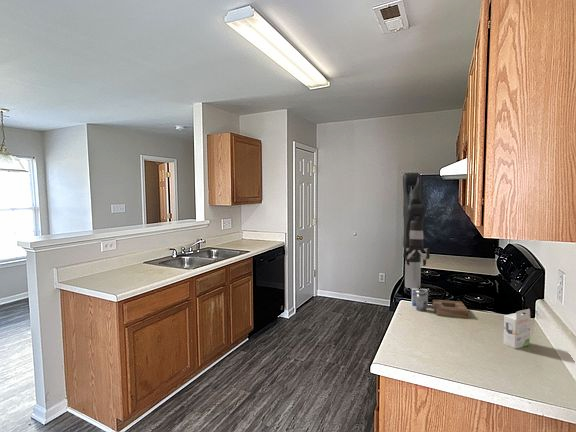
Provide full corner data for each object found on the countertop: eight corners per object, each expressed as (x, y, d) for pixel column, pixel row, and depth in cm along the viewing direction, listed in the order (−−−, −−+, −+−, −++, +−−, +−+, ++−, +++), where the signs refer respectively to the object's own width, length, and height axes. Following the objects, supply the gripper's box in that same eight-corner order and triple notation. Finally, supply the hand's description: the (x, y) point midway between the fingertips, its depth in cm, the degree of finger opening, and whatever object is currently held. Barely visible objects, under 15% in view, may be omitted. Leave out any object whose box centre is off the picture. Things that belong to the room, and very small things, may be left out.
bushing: (414, 307, 169) (414, 288, 169) (426, 308, 168) (426, 289, 167) (415, 311, 164) (416, 291, 163) (428, 312, 162) (428, 292, 161)
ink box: (517, 340, 131) (518, 304, 130) (530, 345, 126) (531, 308, 125) (502, 343, 127) (503, 307, 126) (515, 349, 123) (516, 311, 122)
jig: (432, 305, 171) (432, 299, 171) (461, 308, 167) (461, 301, 167) (437, 315, 158) (437, 308, 157) (468, 318, 154) (468, 310, 154)
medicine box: (412, 305, 172) (412, 289, 171) (411, 303, 176) (411, 287, 176) (427, 307, 170) (428, 291, 169) (426, 304, 174) (427, 288, 173)
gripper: (428, 237, 190) (428, 265, 190) (403, 237, 194) (402, 264, 194) (430, 238, 183) (430, 267, 183) (404, 238, 187) (403, 266, 187)
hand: (416, 265), depth 189 cm, fingers open, 8 cm apart
